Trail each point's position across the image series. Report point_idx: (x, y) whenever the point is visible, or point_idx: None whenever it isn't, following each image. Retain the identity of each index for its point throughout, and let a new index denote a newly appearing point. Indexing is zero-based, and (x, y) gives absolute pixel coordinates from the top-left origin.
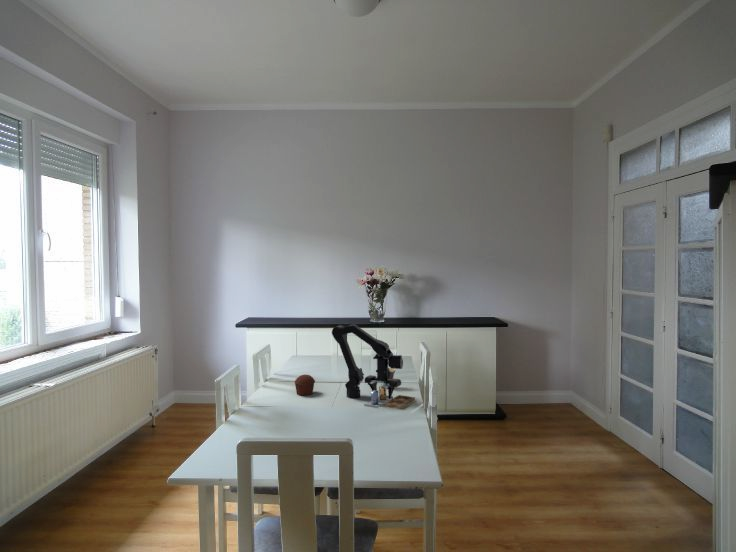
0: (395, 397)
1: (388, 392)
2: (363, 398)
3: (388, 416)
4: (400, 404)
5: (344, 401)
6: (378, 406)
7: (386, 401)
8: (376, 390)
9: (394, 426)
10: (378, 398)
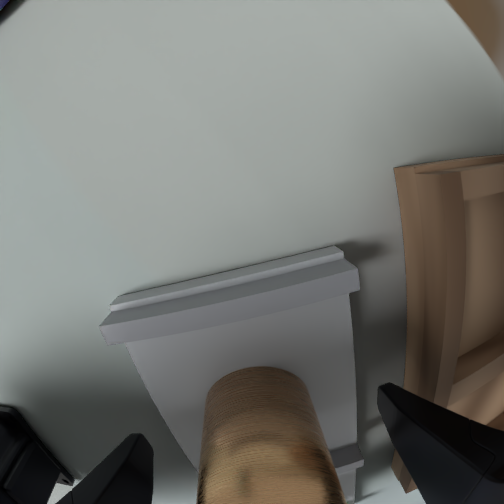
0: (451, 333)
1: (426, 499)
2: (41, 417)
3: None
4: (501, 373)
5: (59, 494)
6: (349, 501)
7: (344, 415)
8: (112, 495)
9: None
10: (171, 406)
